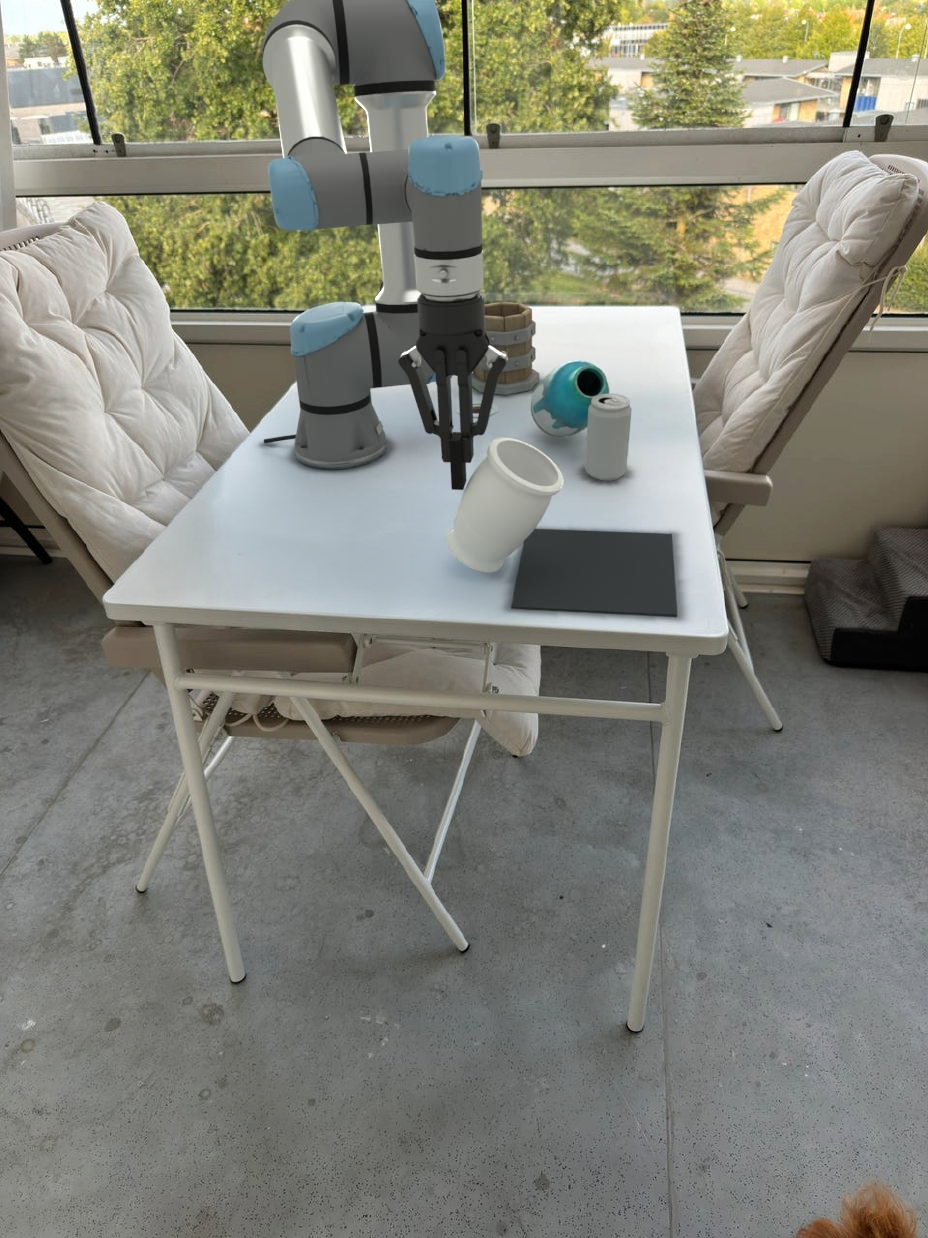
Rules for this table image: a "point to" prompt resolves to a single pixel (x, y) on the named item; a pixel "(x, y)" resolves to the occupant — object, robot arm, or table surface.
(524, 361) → the tankard
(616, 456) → the beverage can
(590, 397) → the vase
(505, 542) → the jar
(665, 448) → the table surface
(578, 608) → the mat
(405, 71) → the robot arm
